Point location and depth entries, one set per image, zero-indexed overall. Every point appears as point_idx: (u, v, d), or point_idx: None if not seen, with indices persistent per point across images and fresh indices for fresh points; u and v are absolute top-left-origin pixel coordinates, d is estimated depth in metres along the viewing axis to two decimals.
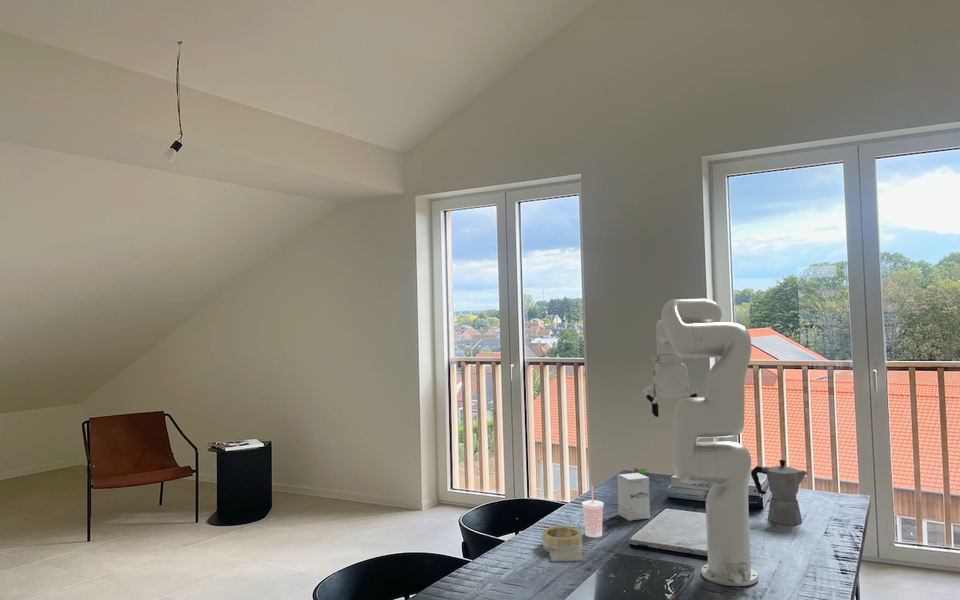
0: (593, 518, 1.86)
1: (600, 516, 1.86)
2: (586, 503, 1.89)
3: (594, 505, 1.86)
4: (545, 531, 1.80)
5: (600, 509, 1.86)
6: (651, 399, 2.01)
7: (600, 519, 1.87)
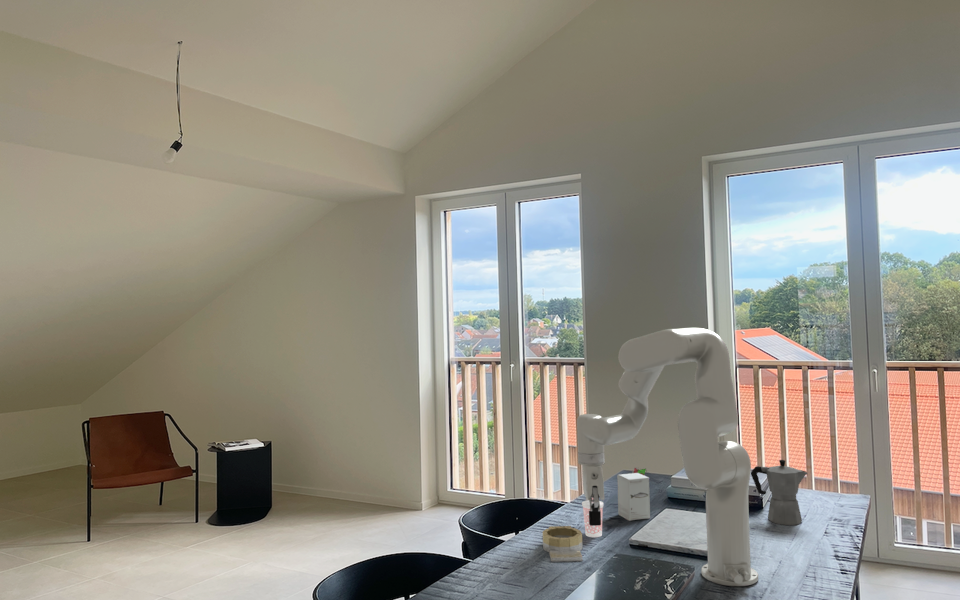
0: None
1: None
2: (586, 503, 1.89)
3: None
4: (545, 531, 1.80)
5: (600, 509, 1.86)
6: None
7: None
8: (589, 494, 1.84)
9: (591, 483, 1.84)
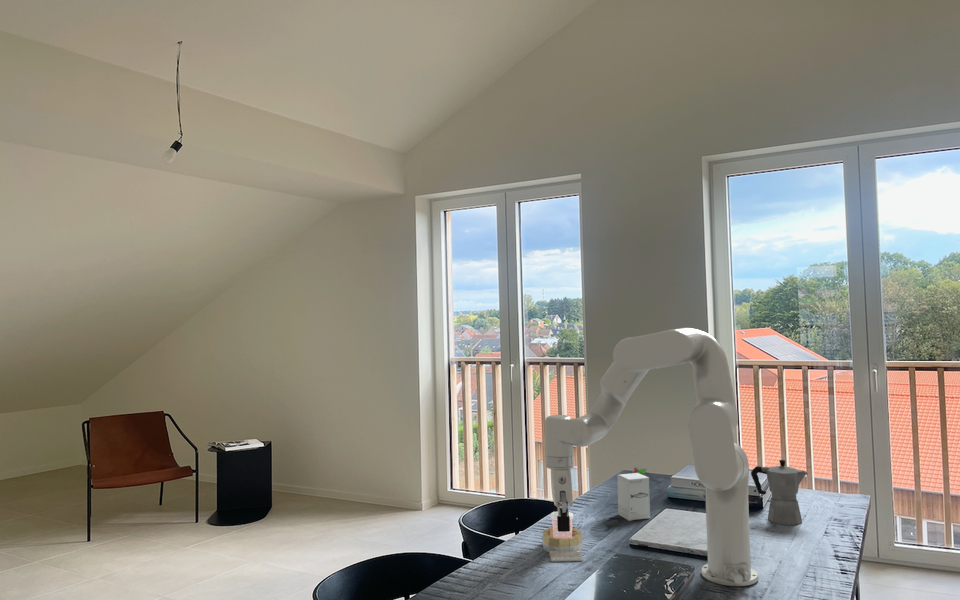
0: None
1: None
2: (555, 514, 1.79)
3: None
4: (545, 531, 1.80)
5: None
6: (566, 512, 1.73)
7: (569, 531, 1.77)
8: (557, 497, 1.74)
9: (559, 488, 1.74)
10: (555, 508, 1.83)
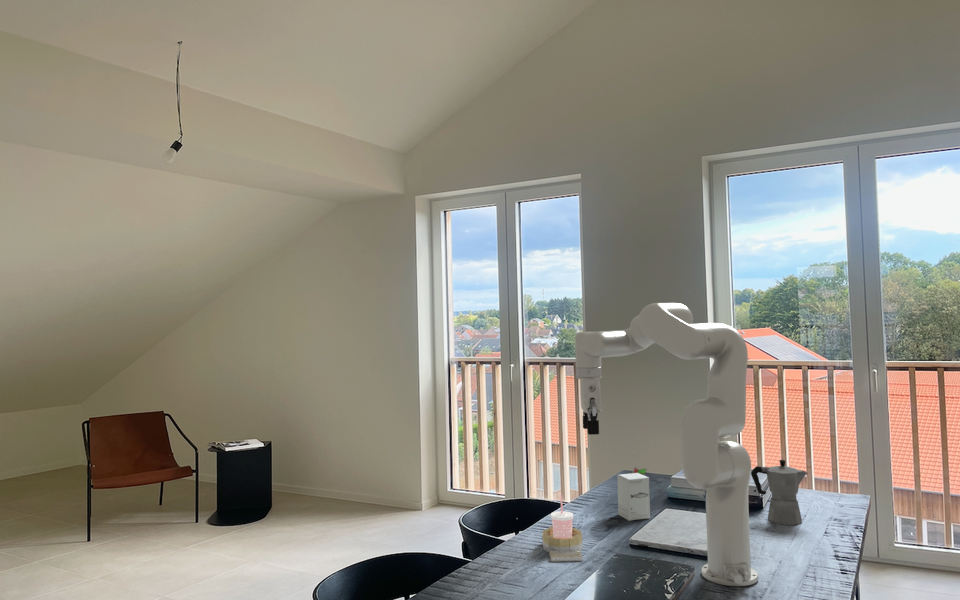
0: (561, 530, 1.76)
1: (569, 528, 1.77)
2: (555, 514, 1.79)
3: (563, 516, 1.77)
4: (545, 531, 1.80)
5: (569, 521, 1.77)
6: None
7: (569, 531, 1.77)
8: (587, 402, 1.90)
9: (589, 395, 1.90)
10: (584, 417, 2.00)
